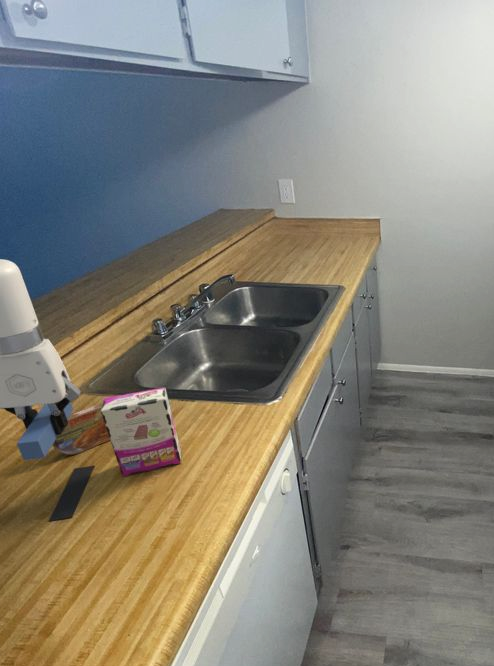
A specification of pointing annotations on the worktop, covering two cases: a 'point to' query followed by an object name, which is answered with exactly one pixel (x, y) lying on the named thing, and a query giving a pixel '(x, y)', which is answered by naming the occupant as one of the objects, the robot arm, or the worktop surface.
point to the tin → (82, 431)
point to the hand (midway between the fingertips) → (49, 430)
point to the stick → (40, 434)
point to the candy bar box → (141, 431)
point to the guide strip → (72, 493)
